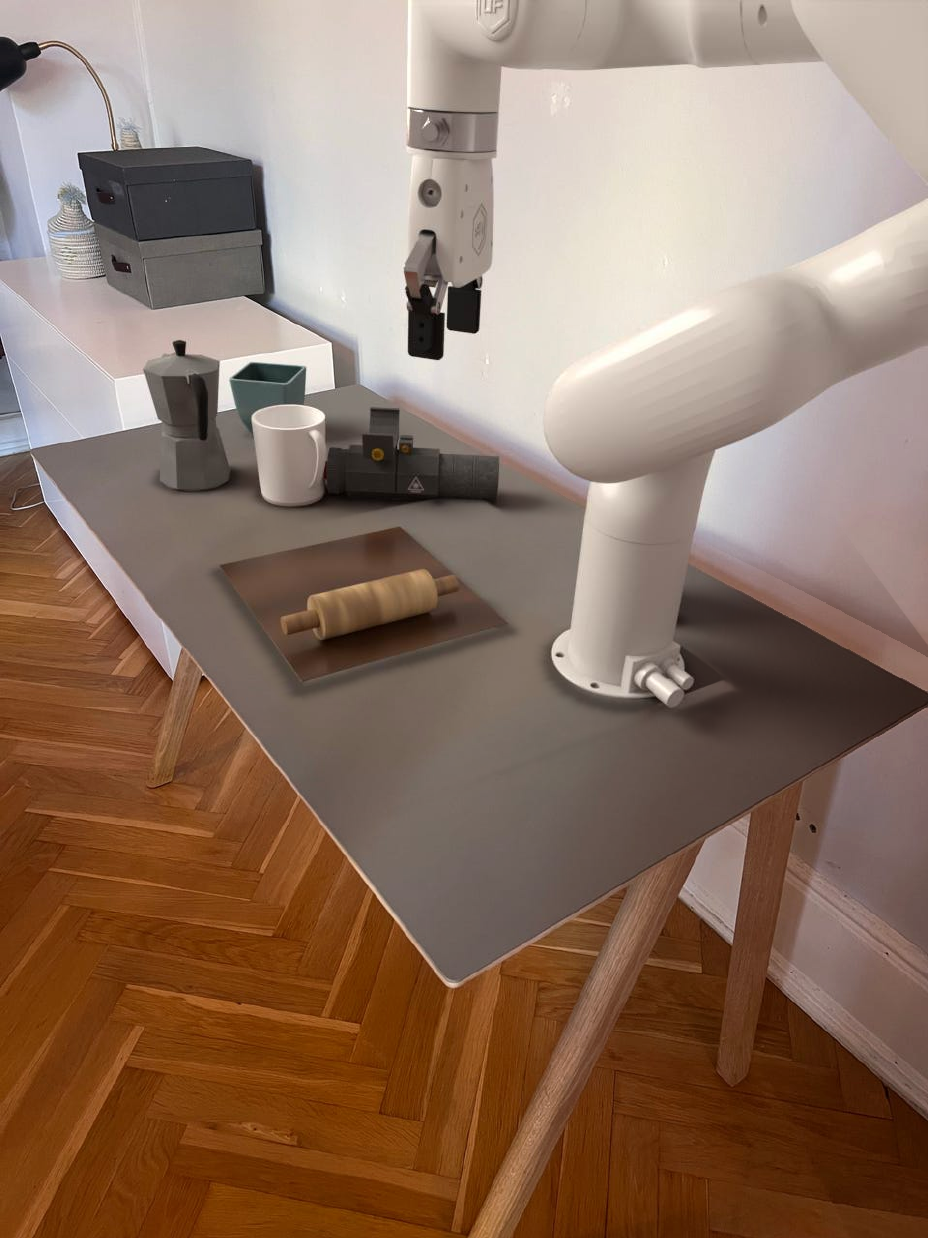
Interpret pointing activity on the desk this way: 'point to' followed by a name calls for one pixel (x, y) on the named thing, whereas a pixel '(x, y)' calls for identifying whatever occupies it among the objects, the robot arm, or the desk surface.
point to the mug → (290, 454)
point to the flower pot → (266, 388)
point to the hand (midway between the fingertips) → (444, 343)
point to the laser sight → (406, 467)
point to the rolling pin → (370, 604)
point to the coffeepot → (188, 419)
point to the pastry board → (342, 563)
